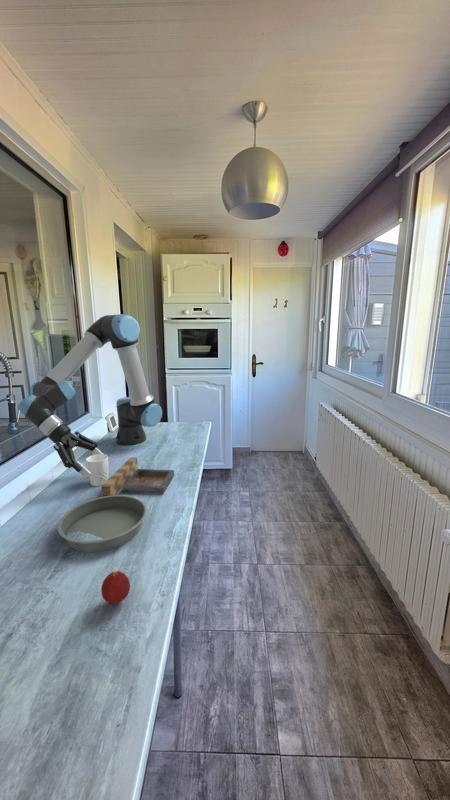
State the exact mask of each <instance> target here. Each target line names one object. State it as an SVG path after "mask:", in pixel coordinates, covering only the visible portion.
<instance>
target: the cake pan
mask: <svg viewBox="0 0 450 800" xmlns="http://www.w3.org/2000/svg"><path fill="white" fill-rule="evenodd" d="M147 514H148V508H147V506H146V504H145V503H144V502H143V501H142V500H141V499H139V498H136V497H133V496H130V495H120V494H116V495H112V496H105V497H102V496H100V497H97V498H92V499H89V500H87V501H85V502H81V503H80V504H77V505H76V506H74V507H73V508H71V509H70V510H68V511H67V512H65V514H64V515H63V516H62V517H61V518H60V520H59V521H58V523H57V524H58V525H57V532H58V534H59V536H61V538H62V539H64V540H65V541H66V543H67V544H68V546H69V547H70V548H71V549H74V550H76V551H78V552H79V551H80V552H84V553H86V552H87V553H96V552H103V551H109V550H111V549H115V548H118V547H120V546H122V545H125V544H126V543H128V542H130V541H131V540H133V539H134V538H135V537H136V536H137V535H138V533H140V532H141V529H142V527H143V522H144V520H145V518H146V517H147ZM79 532H81V533H85V534H90V535H93V536H95V537H97V538H101V539H95V540H79V539H74V538H71V537H69V536H68V535H69V533H70V534H73V533H79Z"/></svg>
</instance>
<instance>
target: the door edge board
mask: <svg viewBox="0 0 450 800" xmlns="http://www.w3.org/2000/svg"><path fill="white" fill-rule="evenodd" d="M137 469H139V465H138V457H130V456H129V457H128V459H127V460H126V461H125V462H124V463H123V464H122V465H121V466H120V467H119V468H118V469H117V470H116V471H115V472H114V473H113V474H112V475H111V476H110V477H109V479H108V480H107V481H106V482H105V483H104V484H103V485H101V497H105V496H112V495H118V493H119V492H120V490H121V489H123V485H124V484H125V483H126V482H127V481H128V480H129V478H130V477H131V476H132V475H133V474H134V473H135V471H136V470H137Z"/></svg>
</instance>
